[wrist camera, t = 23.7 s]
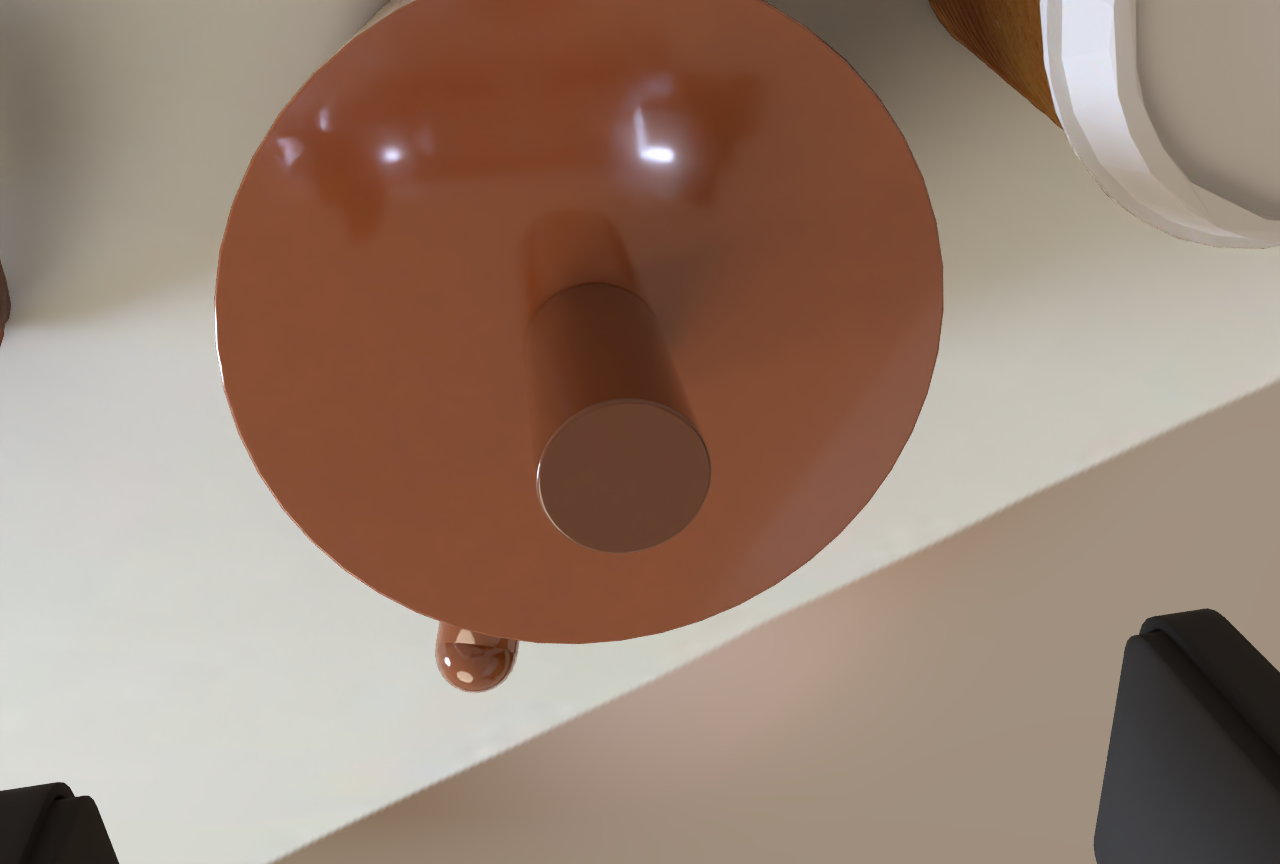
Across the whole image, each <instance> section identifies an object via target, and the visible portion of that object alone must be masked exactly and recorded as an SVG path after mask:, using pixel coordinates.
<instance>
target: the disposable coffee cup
mask: <svg viewBox="0 0 1280 864" xmlns="http://www.w3.org/2000/svg"><path fill="white" fill-rule="evenodd" d="M929 2H930V5H931V7H932V8H933V10H934V12H935V14H936V16H937V18H938V19H939V21H940V22H941V23H942V25H943V26H944V27H945V28H946V29H947V30H948V32H949V33H950V34H951V35H952V36H953V37H954V38H955V39H956V40H957V41H959V42H960V43H961V44H963V45H964V46H965V47H967V48H968V49H969V50H970V51H971V52H973V53H974V54H975V55H976V56H977V57H978V58H979V59H980V60H981V61H983V62H984V63H985V64H986V65H987V66H988V67H990V68H991V69H992V70H993V71H995V72H996V73H997V74H998V75H999V76H1000V77H1001V78H1002V79H1003V80H1004V81H1005V82H1007V83H1008V84H1009V85H1011V86H1012V87H1013V88H1014V89H1015V90H1017V91H1018V92H1019V93H1020V94H1021V95H1022V96H1024V97H1025V98H1026V99H1028V100H1029V101H1030V102H1031V103H1032V104H1033V105H1034V106H1035V107H1036V108H1038V109H1039V110H1040V111H1042V112H1043V113H1044V114H1046V115H1047V116H1048V117H1049V118H1050V119H1051V120H1052V121H1053V122H1054V123H1055V124H1056V125H1057V126H1059V127H1060V128H1061V129H1063V130H1064V132H1065V134H1066V136H1067V138H1068V141H1069V143H1070V145H1071V147H1072V150H1073V151H1074V153H1075V154H1076V155H1077V157H1078V158H1079V159H1080V161H1081V162H1082V163H1083V165H1084V166H1085V167H1086V169H1087V170H1088V171H1089V172H1090V174H1091V175H1092V176H1093V178H1094V179H1095V180H1096V182H1097V183H1098V184H1099V185H1100V187H1101V188H1102V189H1103V191H1104V192H1105V193H1106V195H1107V196H1108V197H1110V198H1111V199H1112V200H1114V201H1115V202H1117V203H1118V204H1119V205H1121V206H1122V207H1123V208H1125V209H1126V210H1127V211H1129V212H1130V213H1131V214H1133V215H1134V216H1135V217H1137V218H1138V219H1139V220H1141V221H1142V222H1144V223H1146V224H1148V225H1150V226H1152V227H1154V228H1157V229H1159V230H1161V231H1163V232H1165V233H1167V234H1169V235H1171V236H1173V237H1176V238H1178V239H1182V240H1186V241H1191V242H1195V243H1200V244H1204V245H1209V246H1213V247H1218V248H1254V249H1264V248H1269V247H1275V246H1280V0H929Z"/></svg>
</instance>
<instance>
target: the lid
mask: <svg viewBox="0 0 1280 864" xmlns="http://www.w3.org/2000/svg"><path fill="white" fill-rule="evenodd" d="M214 308H215V337H216V349H217V355H218V360H219V366H220V371H221V377H222V382H223V388H224V392H225V395H226V398H227V401H228V404H229V407H230V410H231V413H232V416H233V419H234V422H235V425H236V428H237V431H238V434H239V436H240V438H241V440H242V442H243V444H244V446H245V448H246V450H247V452H248V454H249V456H250V458H251V460H252V462H253V464H254V466H255V468H256V470H257V472H258V474H259V475H260V476H261V478H262V479H263V481H264V482H265V484H266V485H267V487H268V488H269V490H270V491H271V493H272V494H273V496H274V497H275V499H276V500H277V502H278V503H279V504H280V506H281V507H282V509H283V510H284V511H285V512H286V513H287V515H288V516H289V517H290V518H291V519H292V520H293V521H294V522H295V524H296V525H297V526H298V527H299V528H300V529H301V530H302V531H303V533H304V534H305V535H306V536H307V537H308V538H309V539H310V540H311V542H313V543H314V544H315V545H316V546H317V547H318V548H319V549H321V550H322V551H323V552H324V553H325V554H326V555H328V556H329V557H330V558H331V559H332V560H333V561H334V562H336V563H337V564H338V565H339V566H340V567H341V568H343V569H344V570H345V571H347V572H348V573H350V574H351V575H353V576H354V577H355V578H357V579H358V580H360V581H361V582H363V583H364V584H366V585H367V586H369V587H370V588H372V589H373V590H375V591H376V592H378V593H379V594H381V595H383V596H385V597H387V598H389V599H391V600H393V601H395V602H397V603H399V604H401V605H403V606H405V607H407V608H409V609H411V610H413V611H415V612H417V613H419V614H422V615H425V616H427V617H430V618H433V619H435V620H438V621H441V622H443V623H446V624H449V625H451V626H454V627H457V628H461V629H465V630H469V631H473V632H477V633H481V634H485V635H489V636H493V637H498V638H505V639H513V640H520V641H528V642H535V643H562V644H585V643H597V642H609V641H621V640H626V639H632V638H637V637H642V636H648V635H653V634H658V633H663V632H666V631H669V630H673V629H676V628H679V627H683V626H686V625H689V624H693V623H696V622H699V621H702V620H704V619H707V618H709V617H712V616H714V615H716V614H719V613H721V612H723V611H726V610H728V609H731V608H733V607H735V606H738V605H740V604H742V603H743V602H745V601H747V600H749V599H751V598H752V597H754V596H756V595H758V594H760V593H762V592H763V591H765V590H767V589H769V588H771V587H772V586H774V585H776V584H777V583H779V582H780V581H781V580H783V579H784V578H786V577H787V576H789V575H790V574H791V573H793V572H794V571H796V570H797V569H799V568H800V567H801V566H803V565H804V564H806V563H807V562H808V561H810V560H811V559H812V558H813V557H814V556H815V555H817V554H818V553H819V552H820V551H821V550H822V549H823V548H824V547H826V546H827V545H828V544H829V543H830V542H831V541H832V540H833V539H835V538H836V537H837V536H838V535H839V534H840V533H841V532H842V531H843V530H844V529H845V528H846V527H847V525H848V524H849V523H850V522H851V521H852V520H853V519H854V518H855V517H856V516H857V514H858V513H859V512H860V511H861V510H862V509H863V508H864V507H865V506H866V504H867V503H868V502H869V501H870V499H871V498H872V496H873V495H874V494H875V492H876V491H877V489H878V488H879V487H880V485H881V484H882V482H883V481H884V480H885V478H886V477H887V475H888V474H889V473H890V471H891V470H892V468H893V466H894V464H895V463H896V461H897V459H898V457H899V455H900V454H901V452H902V450H903V448H904V446H905V444H906V443H907V441H908V439H909V437H910V435H911V433H912V431H913V429H914V426H915V424H916V421H917V419H918V416H919V414H920V411H921V409H922V406H923V404H924V401H925V399H926V396H927V394H928V390H929V386H930V382H931V378H932V374H933V370H934V366H935V363H936V359H937V355H938V349H939V341H940V333H941V325H942V317H943V262H942V256H941V249H940V243H939V236H938V229H937V223H936V219H935V215H934V212H933V209H932V205H931V202H930V199H929V195H928V192H927V189H926V185H925V182H924V179H923V176H922V174H921V172H920V170H919V168H918V165H917V163H916V161H915V159H914V157H913V155H912V152H911V150H910V148H909V146H908V144H907V142H906V139H905V137H904V135H903V134H902V132H901V131H900V129H899V128H898V126H897V125H896V123H895V122H894V120H893V119H892V117H891V115H890V114H889V112H888V111H887V109H886V108H885V106H884V105H883V103H882V102H881V100H880V99H879V97H878V96H877V95H876V94H875V92H874V91H873V90H872V89H871V88H870V87H869V86H868V84H867V83H866V82H865V81H864V80H863V79H862V78H861V77H860V75H859V74H858V73H857V72H856V71H855V70H854V69H853V67H852V66H851V65H850V64H849V63H848V62H847V61H846V60H845V59H844V58H843V57H842V56H841V55H839V54H838V53H837V52H836V51H835V50H833V49H832V48H831V47H830V46H829V45H828V44H826V43H825V42H824V41H823V40H822V39H820V38H819V37H818V36H817V35H816V34H815V33H813V32H812V31H811V30H810V29H809V28H807V27H806V26H804V25H802V24H801V23H799V22H798V21H796V20H794V19H793V18H791V17H790V16H788V15H786V14H785V13H783V12H782V11H780V10H778V9H777V8H775V7H774V6H772V5H770V4H769V3H767V2H766V1H764V0H410V1H408V2H406V3H403V4H401V5H400V6H398V7H397V8H395V9H393V10H392V11H390V12H389V13H387V14H386V15H384V16H383V17H381V18H380V19H378V20H377V21H375V22H374V23H372V24H371V25H369V26H368V27H366V28H365V29H363V30H361V31H360V32H358V33H357V34H355V35H354V36H353V37H352V38H351V39H350V40H349V41H348V42H346V43H345V44H344V45H343V46H342V47H341V48H340V49H339V50H337V51H336V52H335V53H334V54H333V55H332V56H331V57H329V58H328V59H327V60H326V61H325V62H324V63H323V64H322V65H320V66H319V67H318V68H317V69H316V70H315V71H314V72H313V74H312V75H311V76H310V77H309V78H308V80H307V81H306V82H305V83H304V84H303V85H302V87H301V88H300V89H299V90H298V91H297V93H296V94H295V95H294V96H293V97H292V98H291V100H290V101H289V102H288V103H287V104H286V106H285V107H284V108H283V109H282V111H281V112H280V113H279V115H278V116H277V118H276V120H275V121H274V123H273V124H272V126H271V128H270V129H269V131H268V133H267V134H266V136H265V137H264V139H263V141H262V142H261V144H260V145H259V147H258V149H257V150H256V152H255V154H254V155H253V157H252V159H251V161H250V163H249V166H248V168H247V170H246V173H245V175H244V177H243V180H242V182H241V184H240V187H239V189H238V191H237V193H236V196H235V198H234V200H233V203H232V206H231V210H230V214H229V217H228V221H227V225H226V229H225V232H224V236H223V240H222V244H221V247H220V251H219V260H218V269H217V278H216V287H215V296H214Z"/></svg>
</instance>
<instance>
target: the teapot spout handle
mask: <svg viewBox="0 0 1280 864" xmlns="http://www.w3.org/2000/svg"><path fill="white" fill-rule="evenodd" d="M518 647H519V640H513V639H505V638H498V637H493V636H489V635H485V634H481V633H477V632H473V631H469V630H465V629H461V628H457V627H454V626H451V625H449V624H446V623H443V622H441V621H439V627H438V633H437V640H436V648H435V657H436V663H437V666H438V669H439V671H440V673H441V674H442V676H443V677H444V678H445V680H446V681H447V682H448V683H449V684H451V685H452V686H454V687H455V688H457V689H459V690H462V691H465V692H470V693H480V692H486V691H489V690H491V689H494V688H496V687H497V686H499V685H500V684H502V683H503V682H504V681H505V680H506V679H507V677H508V676H509V675H510V673H511V672H512V670H513V668H514V666H515V663H516V659H517V654H518Z"/></svg>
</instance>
